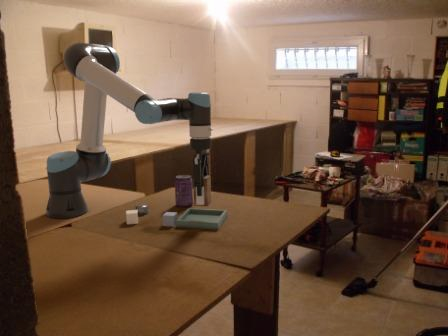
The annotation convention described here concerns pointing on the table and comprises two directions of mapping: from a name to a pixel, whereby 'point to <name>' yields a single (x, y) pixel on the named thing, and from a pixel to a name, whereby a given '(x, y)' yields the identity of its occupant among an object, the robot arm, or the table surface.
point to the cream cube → (132, 216)
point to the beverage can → (183, 190)
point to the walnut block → (206, 191)
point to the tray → (202, 218)
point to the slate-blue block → (170, 219)
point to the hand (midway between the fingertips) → (202, 202)
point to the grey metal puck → (142, 209)
